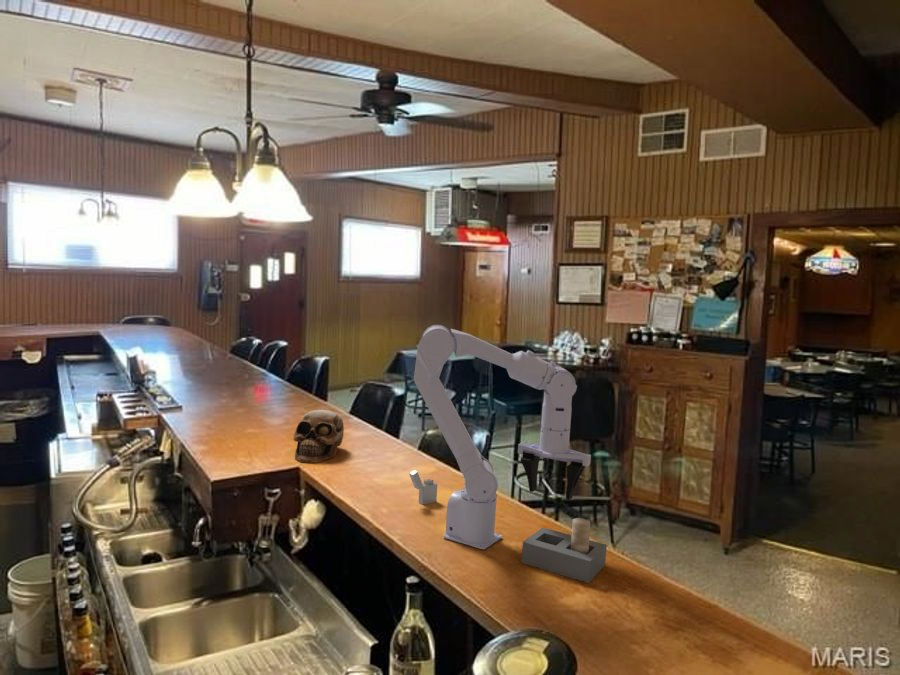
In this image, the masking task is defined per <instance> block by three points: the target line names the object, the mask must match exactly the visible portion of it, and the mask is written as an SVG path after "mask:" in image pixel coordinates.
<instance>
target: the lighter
mask: <svg viewBox="0 0 900 675" xmlns="http://www.w3.org/2000/svg"><path fill="white" fill-rule="evenodd" d="M408 475H409V477H410V480H411V482H412V484H413V487H414V489H417V490H418V504H420V505H427V504H433V503H436V502H437V500H438V499H437V498H438V483H437V482H435V481H434V479H431V478H429V479H424V480H423V482H422V480H421V477H420V474H419V472H418V471H417V470H414V469H413V470H411V471H410V472H409V474H408Z"/></svg>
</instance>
